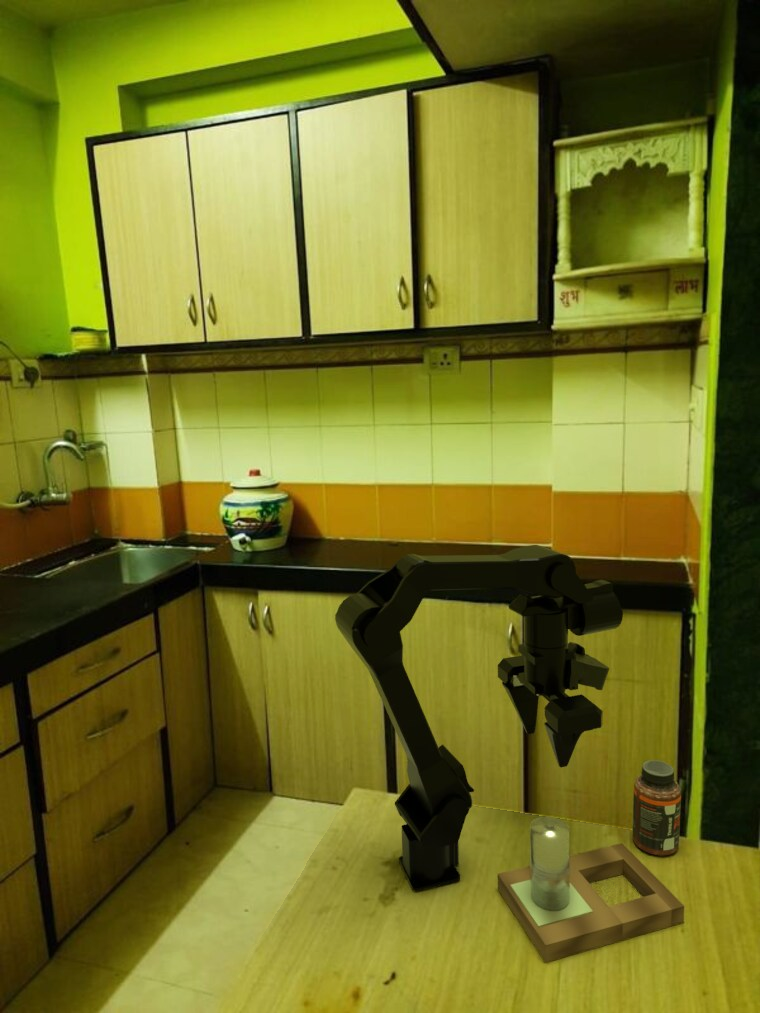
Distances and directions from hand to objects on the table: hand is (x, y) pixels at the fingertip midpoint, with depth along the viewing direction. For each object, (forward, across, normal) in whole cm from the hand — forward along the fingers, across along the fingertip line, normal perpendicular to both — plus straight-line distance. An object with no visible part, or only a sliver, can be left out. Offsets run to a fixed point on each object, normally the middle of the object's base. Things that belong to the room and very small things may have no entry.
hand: (546, 749), depth 97 cm
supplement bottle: (+13, -6, -13) cm, 20 cm away
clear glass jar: (+11, -14, +7) cm, 18 cm away
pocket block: (+13, -14, +2) cm, 19 cm away
